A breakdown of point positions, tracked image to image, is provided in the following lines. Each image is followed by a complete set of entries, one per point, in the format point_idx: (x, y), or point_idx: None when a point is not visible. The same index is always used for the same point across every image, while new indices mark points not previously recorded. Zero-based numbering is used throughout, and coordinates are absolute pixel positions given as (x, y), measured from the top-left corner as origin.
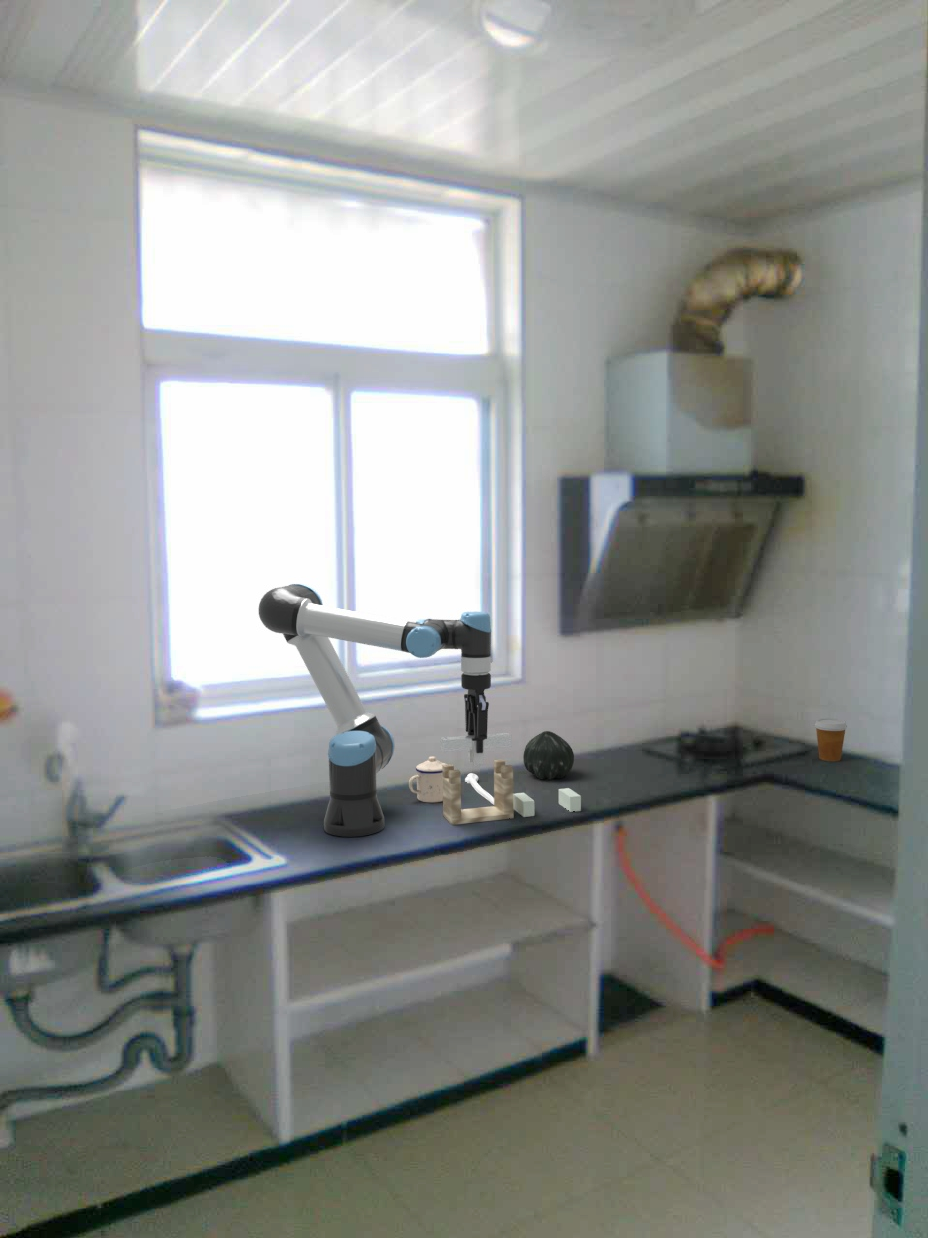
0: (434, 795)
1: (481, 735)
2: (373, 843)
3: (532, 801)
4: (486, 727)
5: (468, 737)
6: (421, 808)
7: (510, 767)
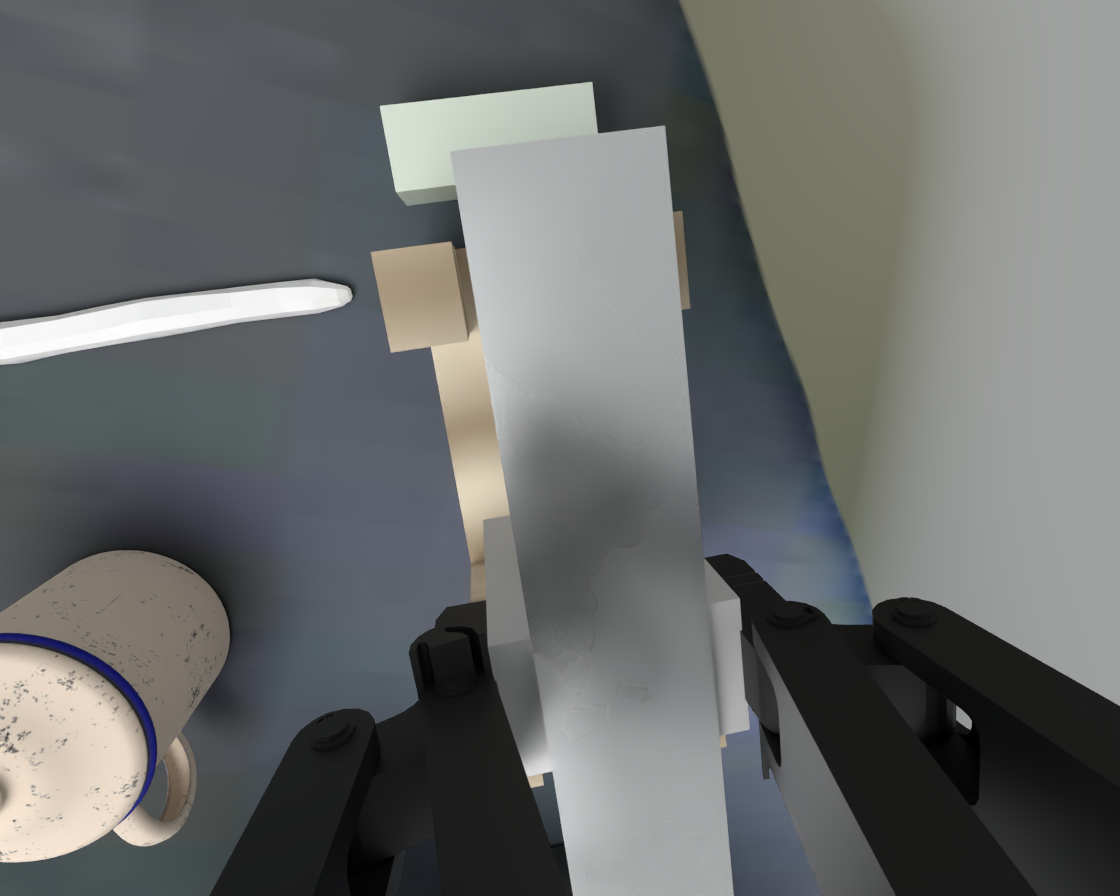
0: (216, 647)
1: (954, 705)
2: (780, 866)
3: (593, 97)
4: (1109, 717)
5: (675, 808)
6: (328, 691)
7: (683, 238)
